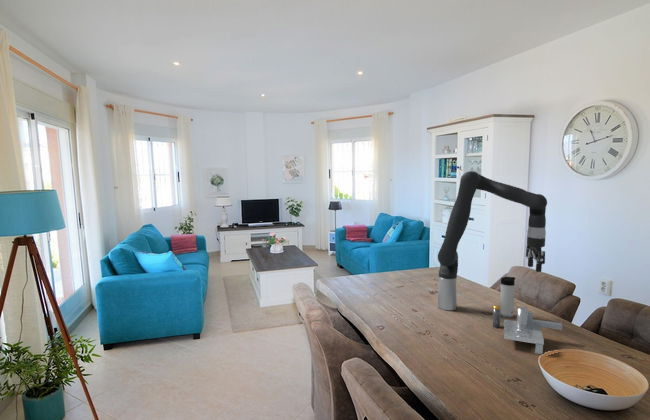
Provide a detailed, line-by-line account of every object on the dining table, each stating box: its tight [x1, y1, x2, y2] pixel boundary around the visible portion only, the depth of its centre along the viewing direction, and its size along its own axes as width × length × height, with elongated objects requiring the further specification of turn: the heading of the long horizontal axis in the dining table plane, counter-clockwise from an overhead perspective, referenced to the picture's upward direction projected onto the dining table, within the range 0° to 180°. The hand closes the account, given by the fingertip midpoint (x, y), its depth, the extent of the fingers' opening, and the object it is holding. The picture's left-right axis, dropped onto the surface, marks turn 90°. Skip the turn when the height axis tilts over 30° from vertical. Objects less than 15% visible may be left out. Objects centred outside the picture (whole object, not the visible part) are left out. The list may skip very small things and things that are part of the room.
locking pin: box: [492, 304, 501, 329], centre depth 166 cm, size 3×3×10 cm
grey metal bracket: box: [503, 306, 563, 355], centre depth 148 cm, size 22×16×14 cm
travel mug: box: [499, 276, 517, 319], centre depth 178 cm, size 6×7×20 cm
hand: (534, 269), depth 169 cm, fingers open, 8 cm apart
